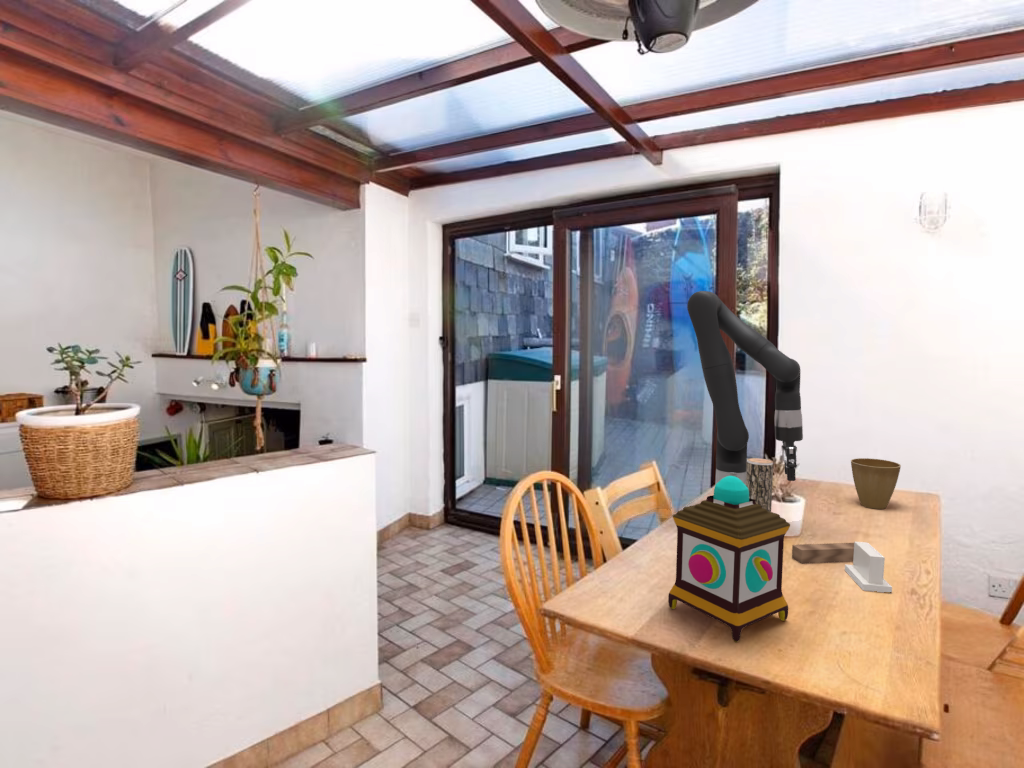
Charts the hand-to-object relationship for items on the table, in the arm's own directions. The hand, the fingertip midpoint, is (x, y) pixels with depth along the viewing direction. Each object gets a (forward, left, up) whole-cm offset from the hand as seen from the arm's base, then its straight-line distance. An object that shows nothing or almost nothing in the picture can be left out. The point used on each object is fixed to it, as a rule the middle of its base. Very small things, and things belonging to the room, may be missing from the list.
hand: (790, 477), depth 168 cm
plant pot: (+37, +38, -17) cm, 56 cm away
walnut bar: (+6, -20, -18) cm, 27 cm away
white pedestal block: (+10, -33, -17) cm, 39 cm away
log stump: (-12, -16, -17) cm, 26 cm away
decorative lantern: (-26, -59, -18) cm, 67 cm away
